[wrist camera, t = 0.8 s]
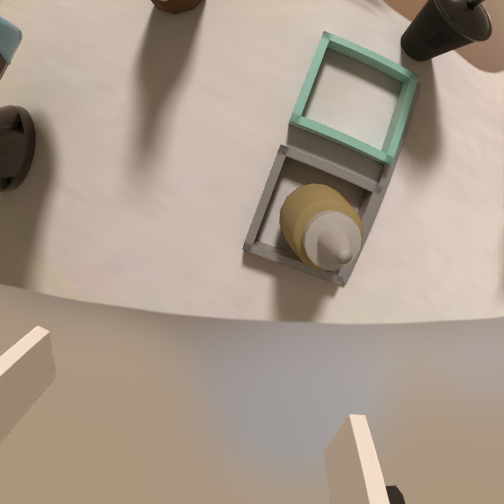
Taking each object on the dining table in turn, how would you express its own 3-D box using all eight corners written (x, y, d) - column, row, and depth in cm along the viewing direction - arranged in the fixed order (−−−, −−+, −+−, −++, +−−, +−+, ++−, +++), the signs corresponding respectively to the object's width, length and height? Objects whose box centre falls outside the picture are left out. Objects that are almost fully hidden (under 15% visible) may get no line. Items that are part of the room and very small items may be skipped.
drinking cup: (445, 69, 29) (536, 29, 10) (403, 72, 30) (491, 17, 11) (426, 24, 27) (499, -35, 8) (383, 24, 28) (447, -51, 9)
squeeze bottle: (324, 170, 35) (370, 172, 18) (353, 227, 36) (413, 276, 19) (266, 201, 36) (260, 232, 19) (297, 257, 38) (315, 329, 21)
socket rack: (244, 244, 38) (242, 249, 36) (321, 38, 30) (323, 31, 28) (345, 281, 38) (349, 288, 36) (418, 84, 30) (426, 80, 28)
